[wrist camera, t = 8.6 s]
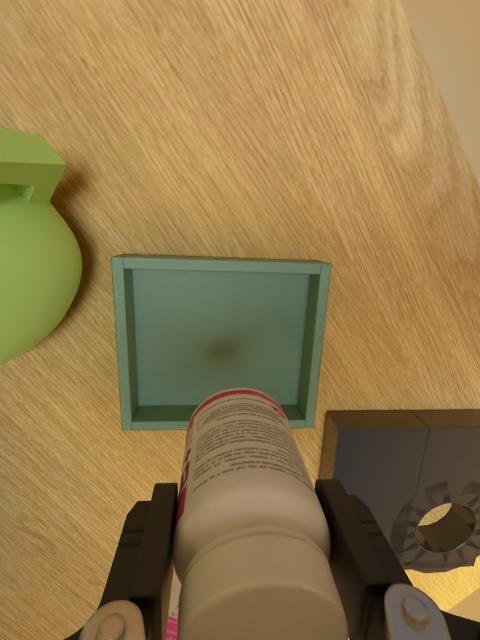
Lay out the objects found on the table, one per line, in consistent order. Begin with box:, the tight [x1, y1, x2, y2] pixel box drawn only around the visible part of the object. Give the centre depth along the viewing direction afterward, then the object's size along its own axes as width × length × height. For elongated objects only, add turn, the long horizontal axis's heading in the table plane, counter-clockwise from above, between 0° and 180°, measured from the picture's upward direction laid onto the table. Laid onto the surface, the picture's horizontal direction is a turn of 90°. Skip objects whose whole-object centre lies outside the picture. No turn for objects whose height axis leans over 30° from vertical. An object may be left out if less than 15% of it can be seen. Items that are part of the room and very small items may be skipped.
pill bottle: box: [172, 388, 348, 640], centre depth 11 cm, size 5×5×8 cm
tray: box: [111, 254, 331, 431], centre depth 26 cm, size 16×14×3 cm
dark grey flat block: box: [319, 410, 480, 573], centre depth 32 cm, size 18×17×3 cm
